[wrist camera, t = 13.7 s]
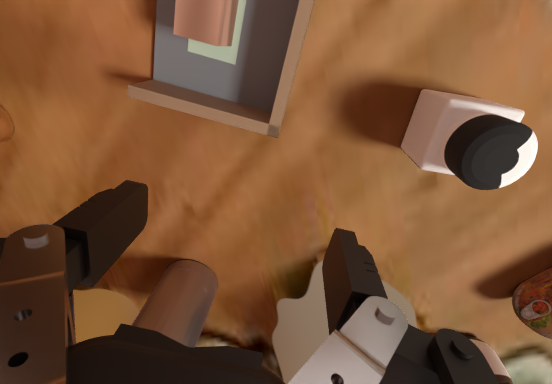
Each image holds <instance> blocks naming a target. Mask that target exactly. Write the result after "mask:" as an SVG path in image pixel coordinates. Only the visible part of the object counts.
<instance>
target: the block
mask: <svg viewBox="0 0 552 384" xmlns="http://www.w3.org/2000/svg"><path fill="white" fill-rule="evenodd" d="M238 2H239V0H176V2H175V17H174V31H173V34H175V35H178V36H182V37H185V38H189V39H192V40H196V41H199V42H203V43H207V44H210V45H214V46H232V40H233V34H234V27H235V21H236V14H237V8H238Z"/></svg>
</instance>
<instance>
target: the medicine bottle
mask: <svg viewBox="0 0 552 384" xmlns="http://www.w3.org/2000/svg"><path fill="white" fill-rule="evenodd" d="M524 114H525V113H524V111H522V110H520V109H516V108H513V107H510V106H506V105H503V104H499V103H496V102H493V101H489V100H486V99H482V98H476V97H470V96H464V95H458V94H452V93H446V92H440V91H434V90H429V89H423V90H422V91H421V92H420V95H419V98H418V100H417V103H416V106H415V109H414V111H413V114H412V117H411V119H410V122H409V125H408V128H407V130H406V133H405V136H404V139H403V141H402V144H401V149H402V150H403V151H404V152H405V153H406V154H407V155H408V156H409V157H410V158H411V159H412V161H413V162H414V163H415V164H416V165H417V166H418V167H419V168H420V169H422V170H427V171H433V172H439V173H445V174H451V175H456V176H457V177H458V178H459V179H460V180H462V181H463V182H464V183H465V184H467V185H468V186H470V187H472V188H475V189H480V190H492V189H497V188H501V187H504V186H506V185H509V184H511V183H513V182H514V181H516V180H518V179H519V178H520V177H521V176H523V175H524V174H525V173H526V172H527V171H528V169H529V168H530V167H531V165H532V164H533V162H534V160H535V157H536V154H537V149H538V142H537V138H536V136H535V134H534V132H533V131H532V130H531V129H530V128H529V127H528V126H526V125H524V124H522V123H520V122H521V120H522V118H523V116H524Z"/></svg>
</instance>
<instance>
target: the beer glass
mask: <svg viewBox="0 0 552 384" xmlns="http://www.w3.org/2000/svg"><path fill="white" fill-rule="evenodd" d="M13 133H14V125H13V122H12V119H11V117H10V116H9V114H8V113H7V111H6V110H5V109H4V108H3V107H2V106H1V105H0V143H1V142H5V141H8V140H9V139H11V137H12V136H13Z"/></svg>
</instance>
